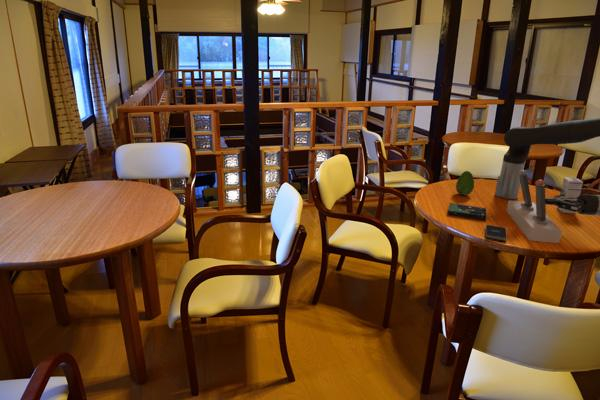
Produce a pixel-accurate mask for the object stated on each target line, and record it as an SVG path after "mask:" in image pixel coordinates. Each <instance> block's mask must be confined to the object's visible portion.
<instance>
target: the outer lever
mask: <svg viewBox="0 0 600 400" xmlns="http://www.w3.org/2000/svg"><path fill="white" fill-rule="evenodd" d="M545 197H546V184H545V181H544V180H543V179H538V180H536V181H535V204H536V215H537V216H538V217H539V218H540V219H541V220H542V221H545V220H546V215H547V212H546V208H547V207H546V206H547V204H545Z"/></svg>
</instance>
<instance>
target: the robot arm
mask: <svg viewBox="0 0 600 400" xmlns="http://www.w3.org/2000/svg"><path fill="white" fill-rule="evenodd" d="M598 137H600V118H598V117H597V118H586V119H578V120H577V119H575V120H568V121H562V122H561V121H560V122H555V123H549V124H545V125H542V126H538V127H537V126H536V127H527V126H518V127H517V126H516V127H513V128H511V129H509V130H508V131H506V133H504V137H503V141H504V143H505V144H506V146H508V149H507V152H505V153H504V154H503V159H502V163H501V167H500V168H501V169H500V174H499V176H498V177H497V181H496V187H495V191H494V196H496V197H499V198H502V199H504V200H505V199H506V200H517V199H518V197H519V191H520V188H521V183H520V178H519V171H520V170H525V169H524V168H525V164H526V161H527V158H528V157H529V154H530V150H531V147H532V146H533V145H563V144H564V145H567V144H568V145H569V144H578V143H583V142H586V141H589V140H592V139H595V138H598ZM545 204H546V205H548V206H549V205H550V206H555V207H557V206H558V207H559V208H562V209H566V210H570V211H574V212H575V213H578V214H579V215H586V216H597V217H599V216H600V194H593V193H592V194H591V193H580V195H579V196H578V197H577V198H575V197H571V196H569V197H565V195H564V194H562V195H560V194H557V195H554V196H553V197H546V196H545Z"/></svg>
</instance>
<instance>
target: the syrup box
mask: <svg viewBox="0 0 600 400" xmlns="http://www.w3.org/2000/svg"><path fill="white" fill-rule="evenodd" d="M583 184H584V181H583V180H581V179H579V178H577V177H565V176H564V178H563V180H562V184H561V190H560V193H559V195H562V194H564V195H565V197H569V196H571V197H575V198H577V197H578V196H579V195H580V194H581V192H582V188H583ZM556 209H557V210H559V212H561V213H567V214H576V212H574V211H570V210H566V209H562V208H559V207H558V206H556Z"/></svg>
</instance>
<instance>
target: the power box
mask: <svg viewBox="0 0 600 400" xmlns="http://www.w3.org/2000/svg"><path fill="white" fill-rule="evenodd" d="M506 206H507V207H506V213H507V214H508V216H509V217H510V218H511V219H512V220H513V221H514V223H515V224H516V226H518V228H519V230H521V232H522V233H523V234H524V236H525V237H526V238H527V240H529V241H532V242H535V241H536V242H542V243H543V242H544V243H553V244H560V241H561V237H562V234H563V230H562V228H560V227H559V226H558V225H557V224H556V222H554V221H553V220H552V219H551V218H550V217H549V216H548V215H547V214H546V220H545V221H542V220H541V219H540V218H539V217H538V216H537V215H536V202H532V206H531V207H528V206H527V205H526V204H525V203H524V201H518V200H508V202H507V205H506Z"/></svg>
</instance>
